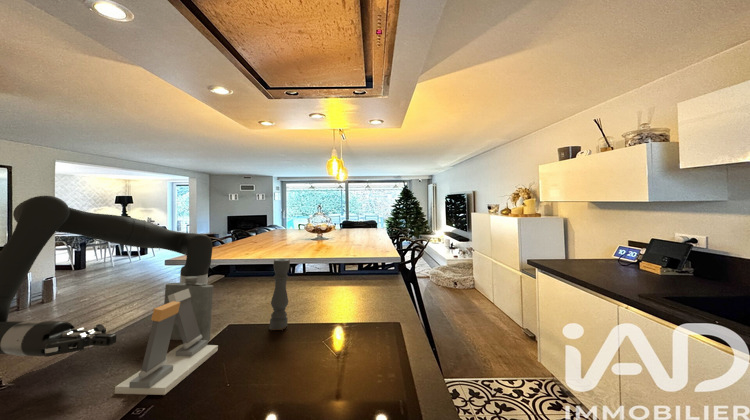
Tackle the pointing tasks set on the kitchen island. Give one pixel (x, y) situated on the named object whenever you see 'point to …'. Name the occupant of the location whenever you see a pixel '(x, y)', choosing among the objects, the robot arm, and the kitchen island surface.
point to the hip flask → (194, 305)
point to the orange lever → (159, 337)
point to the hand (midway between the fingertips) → (113, 339)
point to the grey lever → (186, 318)
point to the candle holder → (280, 294)
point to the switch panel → (169, 370)
